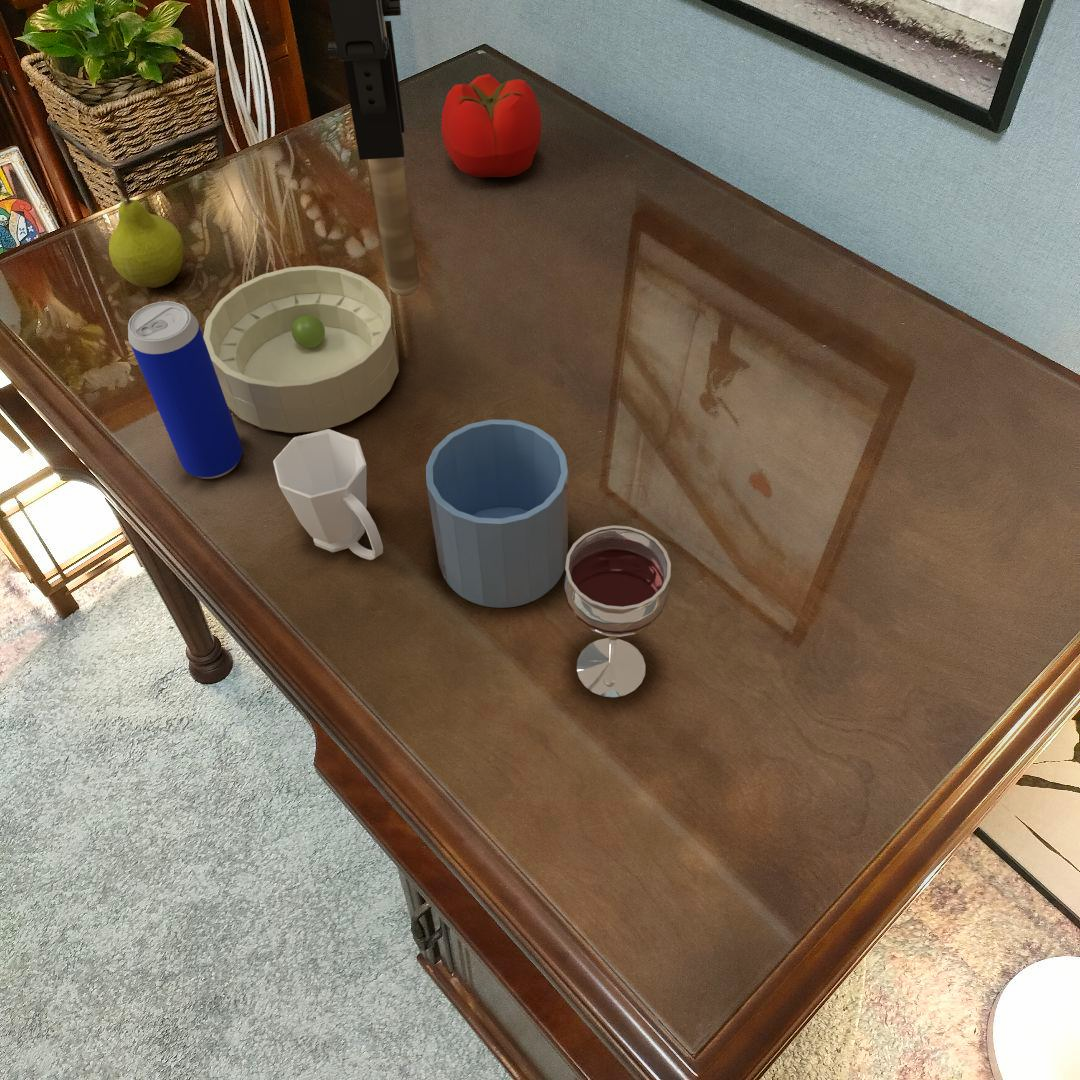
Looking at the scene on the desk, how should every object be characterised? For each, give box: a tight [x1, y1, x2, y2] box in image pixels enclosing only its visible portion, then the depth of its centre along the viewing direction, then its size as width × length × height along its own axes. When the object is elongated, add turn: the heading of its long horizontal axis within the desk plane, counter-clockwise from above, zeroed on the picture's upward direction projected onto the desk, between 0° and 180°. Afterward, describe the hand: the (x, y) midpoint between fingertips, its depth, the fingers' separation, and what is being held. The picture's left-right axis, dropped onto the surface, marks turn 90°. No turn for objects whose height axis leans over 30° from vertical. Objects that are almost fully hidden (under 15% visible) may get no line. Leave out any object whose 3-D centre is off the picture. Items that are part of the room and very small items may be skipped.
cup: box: [272, 428, 384, 561], centre depth 78 cm, size 7×10×8 cm
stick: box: [367, 15, 420, 297], centre depth 64 cm, size 2×2×20 cm
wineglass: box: [563, 525, 672, 698], centre depth 69 cm, size 7×7×12 cm
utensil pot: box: [425, 418, 569, 609], centre depth 76 cm, size 10×10×10 cm
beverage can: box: [127, 300, 243, 480], centre depth 81 cm, size 5×5×15 cm
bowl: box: [202, 265, 400, 434], centre depth 91 cm, size 16×16×6 cm
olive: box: [292, 315, 325, 348], centre depth 94 cm, size 3×3×3 cm
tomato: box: [441, 73, 543, 178], centre depth 112 cm, size 11×12×9 cm
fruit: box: [108, 181, 185, 289], centre depth 98 cm, size 7×7×12 cm
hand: (382, 142), depth 63 cm, fingers closed on stick, 2 cm apart
